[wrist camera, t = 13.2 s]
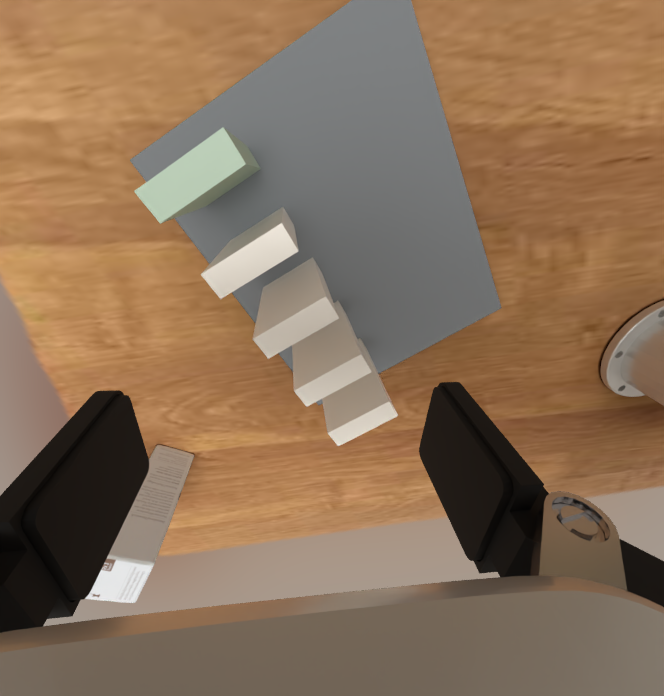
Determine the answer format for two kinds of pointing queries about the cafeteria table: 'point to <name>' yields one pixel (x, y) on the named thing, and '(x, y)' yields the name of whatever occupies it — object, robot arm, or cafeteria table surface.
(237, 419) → the cafeteria table surface
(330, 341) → the domino
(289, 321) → the domino
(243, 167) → the domino end
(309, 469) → the cafeteria table surface
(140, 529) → the skincare box
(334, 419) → the domino
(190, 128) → the slate mat
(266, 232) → the domino
